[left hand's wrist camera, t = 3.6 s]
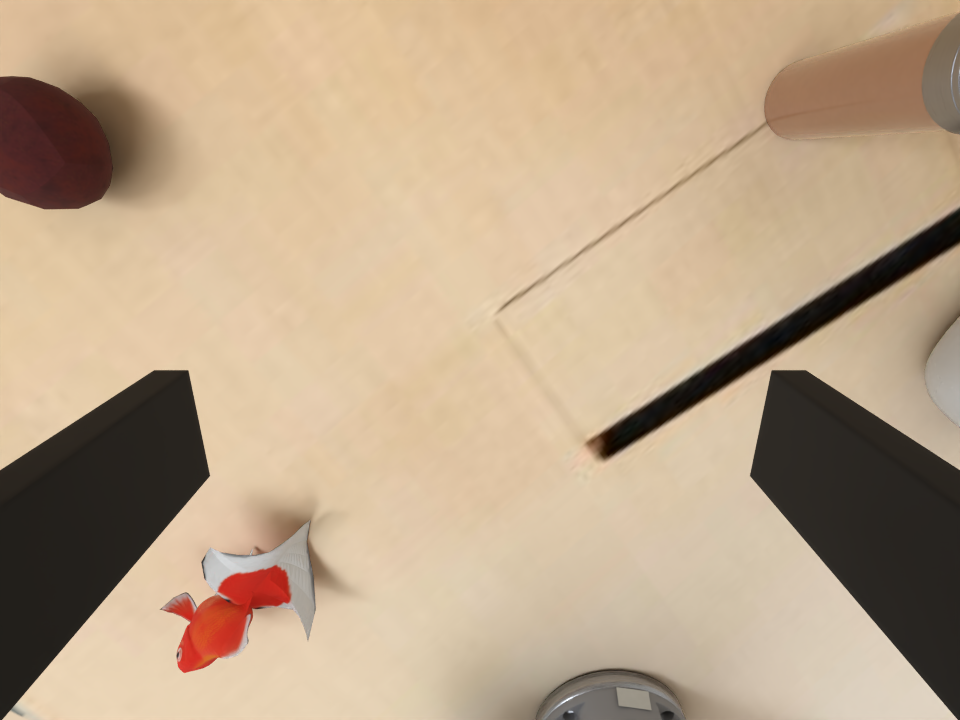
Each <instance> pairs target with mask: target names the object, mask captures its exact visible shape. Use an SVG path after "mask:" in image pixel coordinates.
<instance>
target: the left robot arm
mask: <svg viewBox="0 0 960 720" xmlns="http://www.w3.org/2000/svg"><path fill="white" fill-rule="evenodd" d="M209 476H210V474H209V469H208V464H207V459H206V454H205V449H204V444H203V440H202V435H201V430H200V425H199V420H198V415H197V410H196V406H195V401H194V396H193V391H192V386H191V381H190V376H189V371H188V370H154V371H153V372H151V373H149V374H148V375H146V376H145V377H143V378H142V379H140V380H139V381H137V382H136V383H134V384H133V385H131V386H129V387H128V388H126V389H125V390H123V391H122V392H120V393H119V394H117V395H116V396H114V397H112V398H111V399H109V400H108V401H106V402H105V403H103V404H102V405H100V406H99V407H97V408H96V409H94V410H92V411H91V412H89V413H88V414H86V415H85V416H83V417H82V418H80V419H79V420H77V421H75V422H74V423H72V424H71V425H69V426H68V427H66V428H65V429H63V430H62V431H60V432H59V433H57V434H55V435H54V436H52V437H51V438H49V439H48V440H46V441H45V442H43V443H42V444H40V445H38V446H37V447H35V448H34V449H32V450H31V451H29V452H28V453H26V454H25V455H23V456H22V457H20V458H18V459H17V460H15V461H14V462H12V463H11V464H9V465H8V466H6V467H5V468H3V469H2V470H0V720H2V719H3V718H4V717H5V716H6V715H7V713H8V712H9V711H10V710H11V709H12V708H13V706H14V705H15V704H16V703H17V702H18V700H19V699H20V698H21V697H22V696H23V695H24V693H25V692H26V691H27V690H28V689H29V688H30V686H31V685H32V684H33V683H34V682H35V681H36V679H37V678H38V677H39V676H40V675H41V673H42V672H43V671H44V670H45V669H46V668H47V666H48V665H49V664H50V663H51V662H52V661H53V659H54V658H55V657H56V656H57V655H58V654H59V652H60V651H61V650H62V649H63V648H64V647H65V645H66V644H67V643H68V642H69V641H70V639H71V638H72V637H73V636H74V635H75V634H76V632H77V631H78V630H79V629H80V628H81V627H82V625H83V624H84V623H85V622H86V621H87V620H88V618H89V617H90V616H91V615H92V614H93V612H94V611H95V610H96V609H97V608H98V607H99V605H100V604H101V603H102V602H103V601H104V600H105V598H106V597H107V596H108V595H109V594H110V593H111V591H112V590H113V589H114V588H115V587H116V586H117V584H118V583H119V582H120V581H121V580H122V578H123V577H124V576H125V575H126V574H127V573H128V571H129V570H130V569H131V568H132V567H133V566H134V564H135V563H136V562H137V561H138V560H139V559H140V557H141V556H142V555H143V554H144V553H145V551H146V550H147V549H148V548H149V547H150V546H151V544H152V543H153V542H154V541H155V540H156V539H157V537H158V536H159V535H160V534H161V533H162V532H163V530H164V529H165V528H166V527H167V526H168V524H169V523H170V522H171V521H172V520H173V519H174V517H175V516H176V515H177V514H178V513H179V512H180V510H181V509H182V508H183V507H184V506H185V505H186V503H187V502H188V501H189V500H190V499H191V498H192V496H193V495H194V494H195V493H196V492H197V490H198V489H199V488H200V487H201V486H202V485H203V483H204V482H205V481H206V480H207V479H208V478H209ZM750 476H751V478H752V479H753V480H754V481H755V482H756V483H757V485H758V486H759V487H760V488H761V489H762V490H763V492H764V493H765V494H766V495H767V496H768V498H769V499H770V500H771V501H772V502H773V503H774V505H775V506H776V507H777V508H778V509H779V510H780V512H781V513H782V514H783V515H784V516H785V517H786V519H787V520H788V521H789V522H790V523H791V524H792V526H793V527H794V528H795V529H796V530H797V532H798V533H799V534H800V535H801V536H802V537H803V539H804V540H805V541H806V542H807V543H808V544H809V546H810V547H811V548H812V549H813V550H814V551H815V553H816V554H817V555H818V556H819V557H820V559H821V560H822V561H823V562H824V563H825V564H826V566H827V567H828V568H829V569H830V570H831V571H832V573H833V574H834V575H835V576H836V577H837V578H838V580H839V581H840V582H841V583H842V584H843V586H844V587H845V588H846V589H847V590H848V591H849V593H850V594H851V595H852V596H853V597H854V598H855V600H856V601H857V602H858V603H859V604H860V605H861V607H862V608H863V609H864V610H865V611H866V612H867V614H868V615H869V616H870V617H871V618H872V620H873V621H874V622H875V623H876V624H877V625H878V627H879V628H880V629H881V630H882V631H883V632H884V634H885V635H886V636H887V637H888V638H889V639H890V641H891V642H892V643H893V644H894V645H895V647H896V648H897V649H898V650H899V651H900V652H901V654H902V655H903V656H904V657H905V658H906V659H907V661H908V662H909V663H910V664H911V665H912V666H913V668H914V669H915V670H916V671H917V672H918V673H919V675H920V676H921V677H922V678H923V679H924V681H925V682H926V683H927V684H928V685H929V686H930V688H931V689H932V690H933V691H934V692H935V693H936V695H937V696H938V697H939V698H940V699H941V700H942V702H943V703H944V704H945V705H946V706H947V708H948V709H949V710H950V711H951V712H952V713H953V715H954V716H955V717H956V718H957V719H958V720H960V470H958V469H957V468H955V467H954V466H952V465H951V464H949V463H948V462H946V461H945V460H943V459H942V458H940V457H938V456H937V455H935V454H934V453H932V452H931V451H929V450H928V449H926V448H925V447H923V446H922V445H920V444H918V443H917V442H915V441H914V440H912V439H911V438H909V437H908V436H906V435H905V434H903V433H901V432H900V431H898V430H897V429H895V428H894V427H892V426H891V425H889V424H888V423H886V422H885V421H883V420H881V419H880V418H878V417H877V416H875V415H874V414H872V413H871V412H869V411H868V410H866V409H864V408H863V407H861V406H860V405H858V404H857V403H855V402H854V401H852V400H851V399H849V398H848V397H846V396H844V395H843V394H841V393H840V392H838V391H837V390H835V389H834V388H832V387H831V386H829V385H827V384H826V383H824V382H823V381H821V380H820V379H818V378H817V377H815V376H814V375H812V374H811V373H809V372H807V371H806V370H772V371H771V376H770V381H769V386H768V391H767V396H766V401H765V406H764V410H763V415H762V420H761V425H760V430H759V435H758V440H757V444H756V449H755V454H754V459H753V464H752V469H751V474H750ZM536 720H686V719H685V716H684V714H683V711H682V708H681V705H680V703H679V701H678V699H677V698H676V696H675V695H674V694H673V692H672V691H671V690H670V689H669V688H667V687H666V686H665V685H664V684H662V683H661V682H659V681H657V680H655V679H653V678H651V677H648V676H646V675H642V674H639V673H634V672H628V671H602V672H596V673H591V674H587V675H583V676H580V677H578V678H575V679H573V680H571V681H569V682H567V683H565V684H563V685H562V686H560V687H559V688H557V689H556V690H555V691H553V692H552V693H551V694H550V695H549V696H548V697H547V698H546V699H545V701H544V702H543V704H542V705H541V707H540V709H539V711H538V713H537V716H536Z"/></svg>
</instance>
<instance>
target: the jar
mask: <svg viewBox="0 0 960 720" xmlns="http://www.w3.org/2000/svg"><path fill="white" fill-rule="evenodd" d="M959 13H960V11H959V12H955V13H952V14H949V15H946V16H943V17H939V18H936V19H933V20H930V21H926V22H923V23H920V24H917V25H913V26H910V27H907V28H904V29H900V30H897V31H894V32H891V33H887V34H884V35H881V36H878V37H874V38H871V39H868V40H865V41H861V42H858V43H855V44H852V45H848V46H845V47H842V48H839V49H835V50H832V51H829V52H826V53H822V54H819V55H816V56H813V57H809V58H806V59H803V60H800V61H797V62H794V63H792V64H790V65H789V66H787V67H786V68H784V69H783V70H782V71H781V72H780V73H779V74H778V75H777V76H776V78H775V79H774V80H773V82H772V84H771V85H770V87H769V89H768V92H767V95H766V99H765V117H766V120H767V122H768V125H769V126H770V128H771V129H772V130H773V131H774V132H775V133H776V134H777V135H778V136H780V137H782V138H785V139H789V140H803V139H820V138H836V137H853V136H869V135H886V134H902V133H919V132H935V131H947V130H945V129H943V128H941V127H940V126H939V125H938V124H937V123H935V122H934V120H933V119H932V118H931V117H930V115H929V113H928V112H927V110H926V107H925V104H924V101H923V96H922V76H923V70H924V66H925V63H926V59H927V57H928V54H929V52H930V50H931V48H932V46H933V44H934V42H935V41H936V39H937V37H938V36H939V34H940V33H941V32H942V30H943V29H944V28H945V27H946V25H947V24H948V23H949V22H950V21H951V20H952V19H953V18H954V17H955V16H956V15H957V14H959Z"/></svg>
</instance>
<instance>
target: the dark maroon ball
mask: <svg viewBox="0 0 960 720" xmlns="http://www.w3.org/2000/svg"><path fill="white" fill-rule="evenodd" d="M112 170H113V166H112V160H111V154H110V148H109V143H108V140H107V138H106V136H105V134H104V132H103V130H102V128H101V126H100V124H99V122H98V120H97V118H96V117H95V116H94V115H93V114H92V113H91V112H90V111H89V110H88V109H87V108H86V107H85V106H84V105H83V104H82V103H80V102H79V101H77V100H76V99H75V98H73V97H72V96H70V95H69V94H67V93H66V92H64V91H63V90H61V89H60V88H58V87H55V86H52V85H50V84H47V83H45V82H42V81H39V80H36V79H33V78H30V77H16V76H9V77H0V193H1V194H3V195H4V196H5V197H8V198H11V199H14V200H17V201H20V202H23V203H27V204H30V205H33V206H36V207H39V208H42V209H79V208H82V207H84V206H87V205H89V204H91V203H93V202H95V201H97V200H100V199H101V198H102V197H103V195H104V194H105V192H106V191H107V189H108V188H109V186H110V182H111V176H112Z"/></svg>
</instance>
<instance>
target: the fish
mask: <svg viewBox="0 0 960 720" xmlns="http://www.w3.org/2000/svg"><path fill="white" fill-rule="evenodd" d="M310 522H311V521H308V522H307V523H305V524H304V525H303V526H302V527H301V528H300V529H299V530H298V531H297V532H296V533H295V534H294V535H293V536H292V537H290V538H289V539H288V540H286V541H285V542H284V543H282V544H281V545H279V546H278V547H277V548H275V549H274V550H272V551H271V552H268V553H263V554H259V555H252V552H253V549H252V550H251V553H250V555H234V554H228V553H222V552H219V551H217V550H215V549H212V548H210V549H209V550H208V552H207V554H206V555H205V557H204V559H203V560H202V568H203V573H204V578H205V580H206V581H207V583H208V584H209V586H210V587H211V588H212V589H213V590H214V591H215V592H216V595H215V596H212V597H210V598H208V599H207V600H205V601H204V602H202V603H201V604H200V606H199V607H198V608H197V607H196V604H195V602H194V601H193V599H192V598H191V596H190V595H189V594H188V593H183V594H181V595H179V596H176V597H174V598H173V599H172V600H171V601H169V602H168V603H167V604H166V605H165V606H164V607H163V608H161V609H160V610H164V611H167V612H170V613H174V614H176V615H179V616H182V617H183V618H185V619H186V620H188V621H189V622H191V623H190V624H189V625H188V626H187V628H186V630H185V633H184V635H183V638H182V640H181V642H180V645H179V647H178V650H177V662H178V667H179V668H180V670H181V671H182V672H184V673H186V672H190V671H194V670H198V669H202V668H204V667H206V666H208V665H210V664H211V663H212V662H214V661H215V660H216V659H217V658H219V657H220V658H230V657H234V656H237V655H238V654H239V653H240V652H242V651H243V649H244V648H245V646H246V645H247V644H248V637H247V631H248V627H249V625H250V623H251V621H252V618H253V611H252V608H253V609H261V608H269V607H280V608H286V609H293V610H294V611H295V612H296V613H297V615H298V616H299V617H300V619H301V621H302V624H303V626H304V629H305V632H306V635H307V640H308V639H309V635H310V631H311V626H312V622H313V618H314V614H315V610H316V606H315V592H314V577H313V572H312V567H311V562H310V556H309V550H308V544H307V538H308V532H309V525H310Z"/></svg>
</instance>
